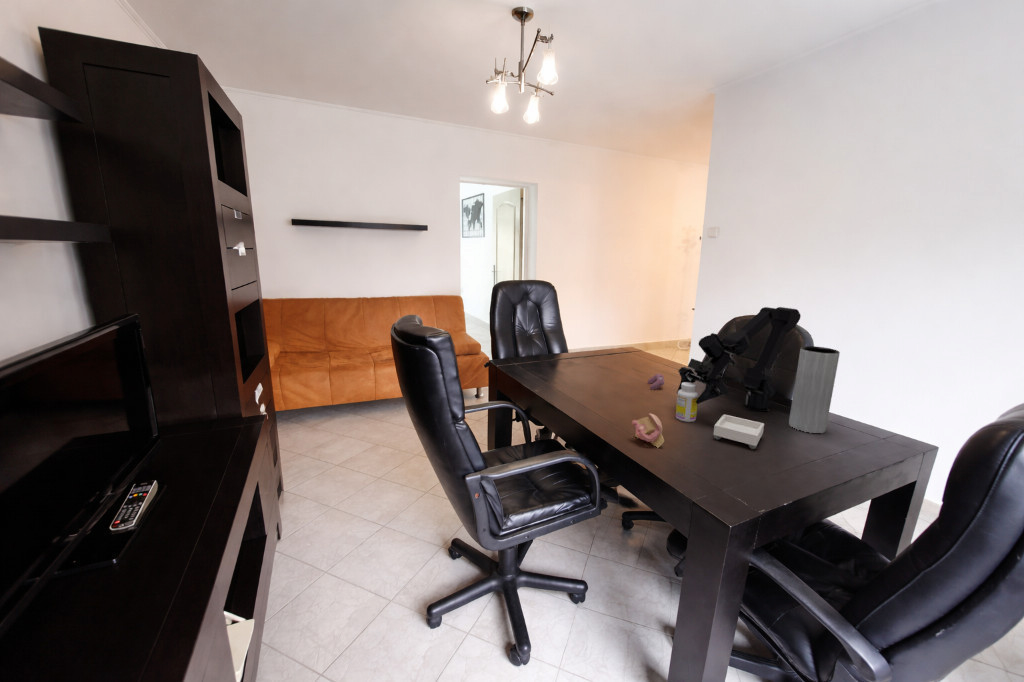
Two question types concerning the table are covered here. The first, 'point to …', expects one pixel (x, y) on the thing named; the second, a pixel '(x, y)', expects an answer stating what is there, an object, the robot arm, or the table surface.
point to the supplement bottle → (687, 402)
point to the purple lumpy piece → (656, 381)
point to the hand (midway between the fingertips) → (686, 398)
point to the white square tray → (739, 430)
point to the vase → (813, 388)
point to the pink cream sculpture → (649, 429)
